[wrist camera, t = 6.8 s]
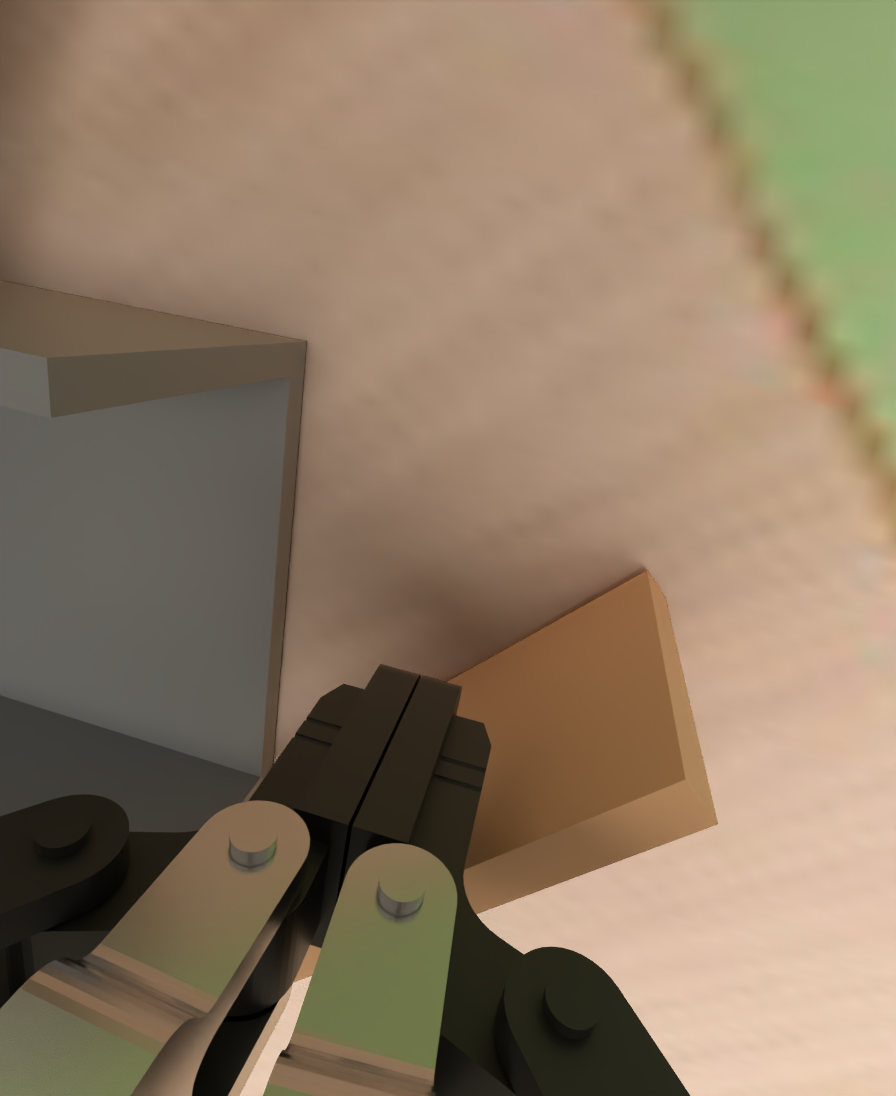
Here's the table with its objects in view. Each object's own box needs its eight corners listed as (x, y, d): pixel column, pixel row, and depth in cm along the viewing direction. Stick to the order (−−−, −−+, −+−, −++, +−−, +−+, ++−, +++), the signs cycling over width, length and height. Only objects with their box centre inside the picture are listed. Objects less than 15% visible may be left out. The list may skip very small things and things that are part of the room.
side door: (696, 640, 16) (771, 899, 9) (321, 826, 20) (175, 1087, 13) (647, 570, 15) (685, 779, 8) (278, 776, 20) (107, 1016, 13)
